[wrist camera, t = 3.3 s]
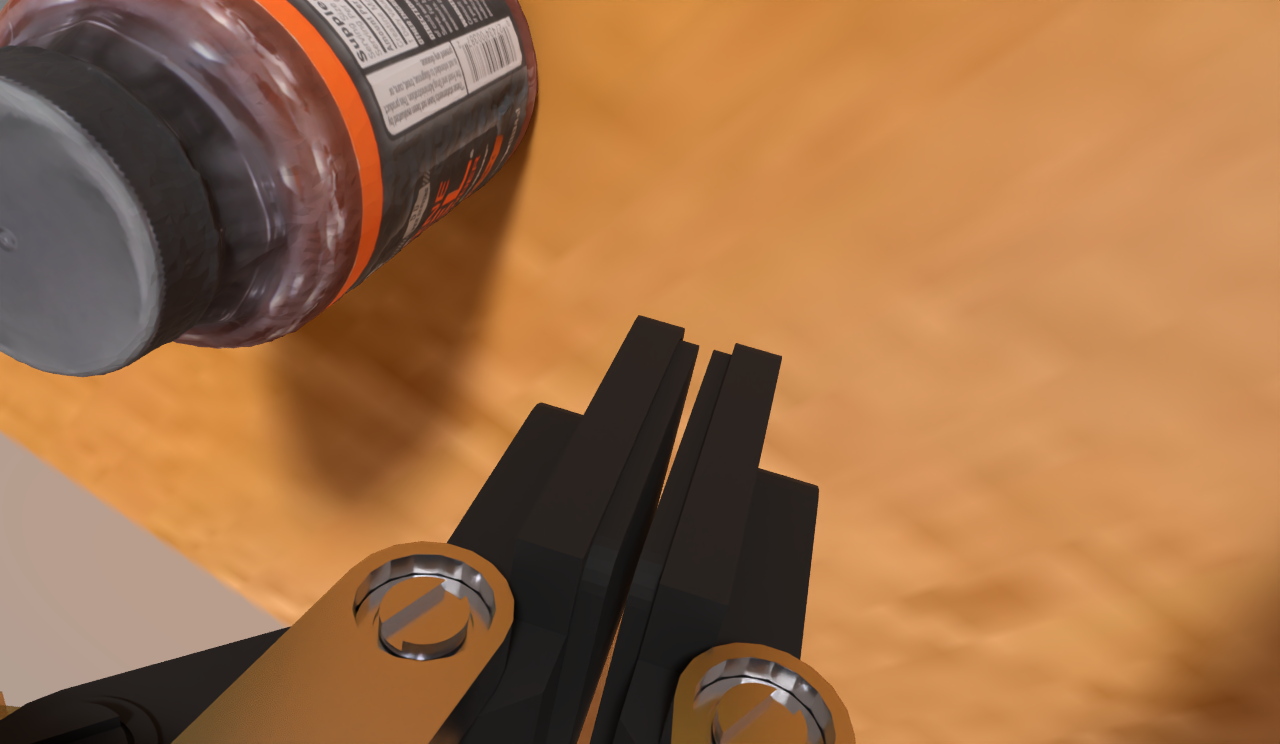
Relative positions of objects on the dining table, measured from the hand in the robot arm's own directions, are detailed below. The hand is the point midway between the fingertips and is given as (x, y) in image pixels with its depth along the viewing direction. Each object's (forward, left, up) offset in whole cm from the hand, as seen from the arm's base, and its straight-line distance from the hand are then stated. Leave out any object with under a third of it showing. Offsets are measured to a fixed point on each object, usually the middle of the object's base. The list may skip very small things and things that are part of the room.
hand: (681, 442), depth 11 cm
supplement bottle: (+9, 0, -11) cm, 14 cm away
